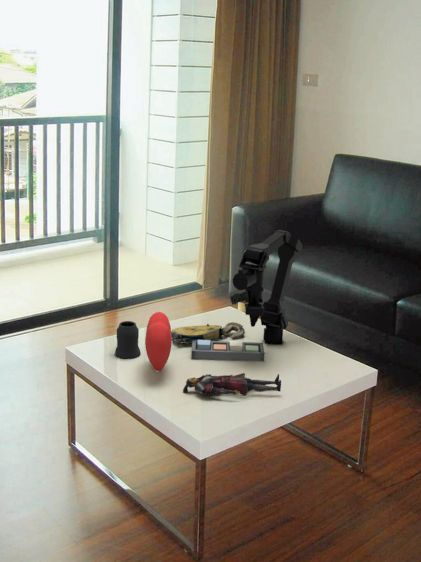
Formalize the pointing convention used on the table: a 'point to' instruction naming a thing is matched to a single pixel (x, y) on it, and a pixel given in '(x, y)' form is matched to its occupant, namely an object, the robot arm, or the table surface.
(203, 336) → the pulley block
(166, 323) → the heart
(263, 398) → the table surface
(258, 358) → the gray cubby shelf
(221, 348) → the key terracotta
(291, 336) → the table surface
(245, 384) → the figurine
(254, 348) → the key sage
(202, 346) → the key blue
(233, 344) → the key cream
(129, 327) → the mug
